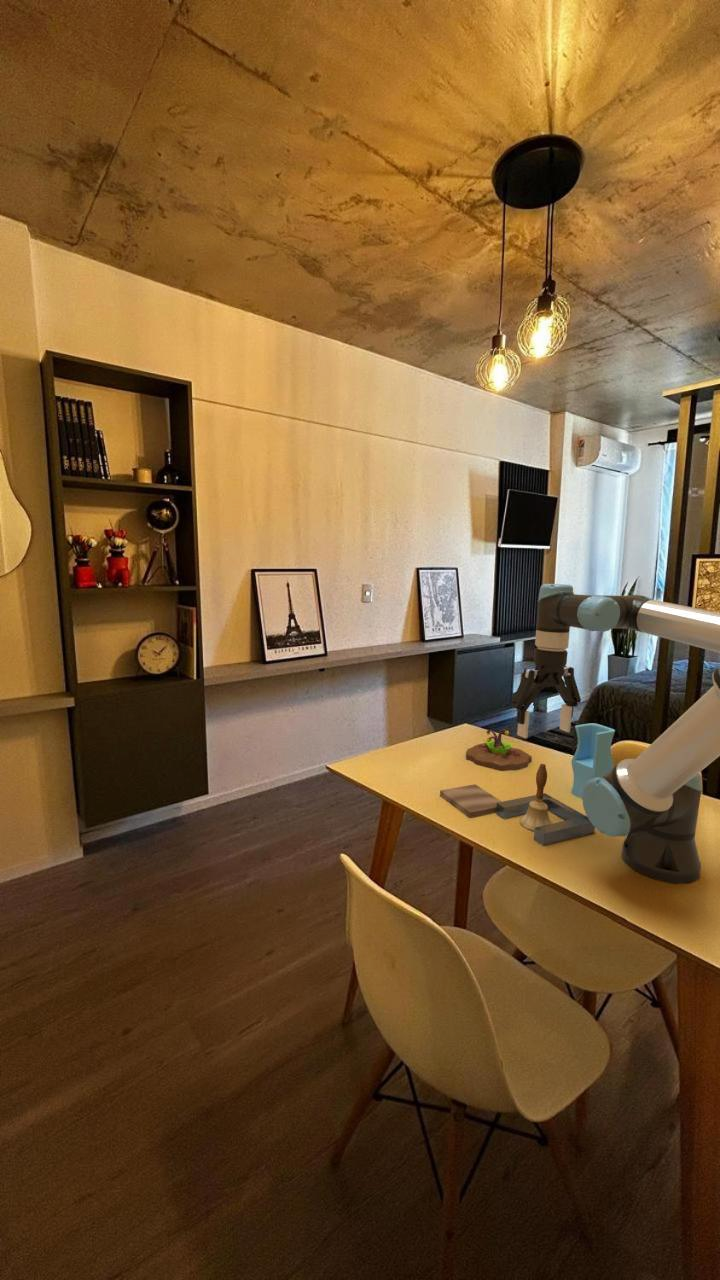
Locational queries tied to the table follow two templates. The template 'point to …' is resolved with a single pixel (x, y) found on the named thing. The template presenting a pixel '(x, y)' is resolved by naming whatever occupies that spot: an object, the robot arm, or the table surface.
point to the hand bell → (537, 804)
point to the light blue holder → (591, 755)
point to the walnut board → (471, 800)
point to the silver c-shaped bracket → (549, 833)
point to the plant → (498, 754)
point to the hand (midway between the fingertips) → (543, 733)
